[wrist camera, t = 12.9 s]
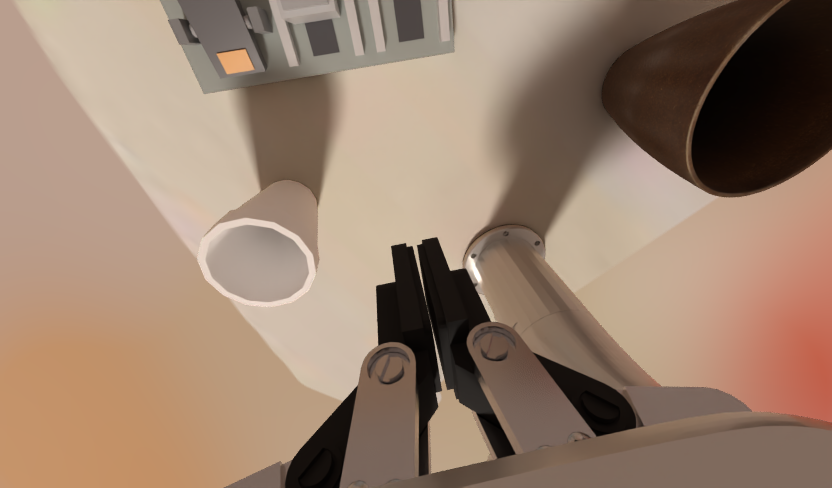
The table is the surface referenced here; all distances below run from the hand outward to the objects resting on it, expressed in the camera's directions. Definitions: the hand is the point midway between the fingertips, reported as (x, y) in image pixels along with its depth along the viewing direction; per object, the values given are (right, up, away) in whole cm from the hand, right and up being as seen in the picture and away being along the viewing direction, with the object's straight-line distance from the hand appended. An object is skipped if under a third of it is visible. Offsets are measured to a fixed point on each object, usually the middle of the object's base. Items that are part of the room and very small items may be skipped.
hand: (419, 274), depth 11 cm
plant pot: (+25, +20, +24) cm, 40 cm away
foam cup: (-16, +6, +26) cm, 31 cm away
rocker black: (-16, +19, +13) cm, 28 cm away
